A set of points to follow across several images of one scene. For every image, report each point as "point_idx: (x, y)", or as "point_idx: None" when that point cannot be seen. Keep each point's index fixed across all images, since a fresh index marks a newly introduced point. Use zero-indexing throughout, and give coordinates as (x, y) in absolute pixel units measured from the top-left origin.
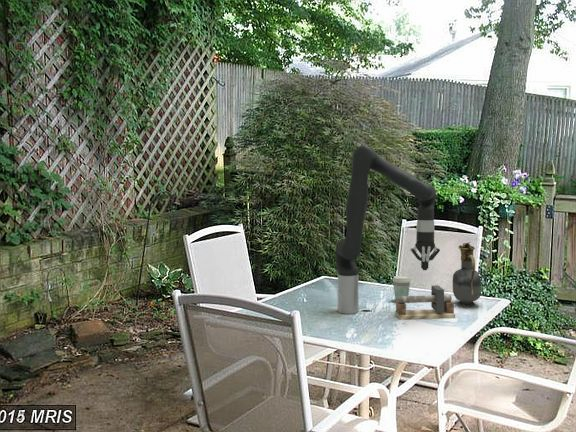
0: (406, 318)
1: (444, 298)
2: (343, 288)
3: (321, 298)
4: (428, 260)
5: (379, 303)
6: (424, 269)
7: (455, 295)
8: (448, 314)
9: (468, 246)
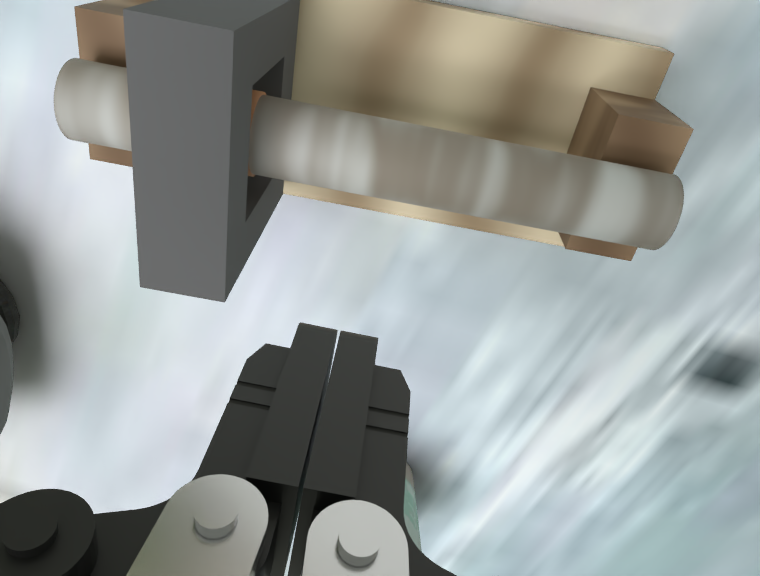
0: (605, 37)
1: None
2: None
3: None
4: (183, 506)
5: (528, 480)
6: (359, 336)
7: (3, 361)
8: None
9: None
